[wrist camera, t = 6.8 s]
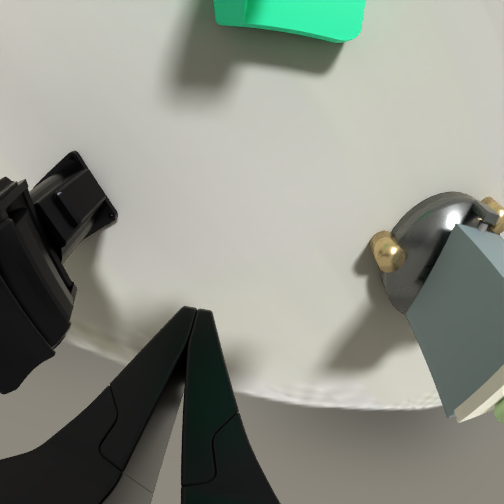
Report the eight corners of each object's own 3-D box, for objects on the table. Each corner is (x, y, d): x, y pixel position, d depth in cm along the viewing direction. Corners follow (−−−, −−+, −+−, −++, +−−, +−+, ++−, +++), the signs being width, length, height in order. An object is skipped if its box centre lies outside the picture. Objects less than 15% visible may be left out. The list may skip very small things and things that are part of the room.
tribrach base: (344, 300, 26) (352, 332, 22) (398, 163, 18) (422, 184, 15) (450, 309, 26) (463, 335, 23) (507, 205, 19) (531, 226, 16)
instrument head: (396, 317, 23) (445, 455, 12) (452, 210, 17) (565, 357, 6) (468, 317, 23) (518, 420, 13) (519, 232, 18) (600, 336, 7)
